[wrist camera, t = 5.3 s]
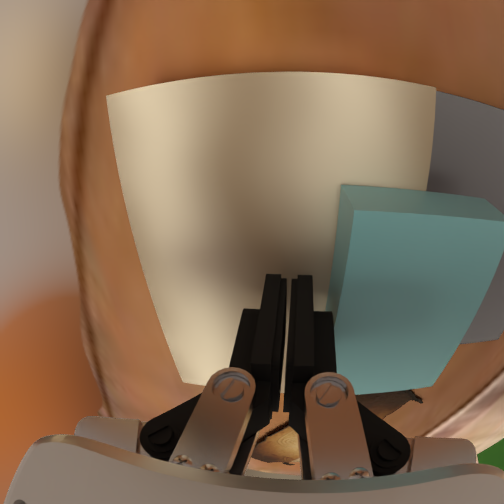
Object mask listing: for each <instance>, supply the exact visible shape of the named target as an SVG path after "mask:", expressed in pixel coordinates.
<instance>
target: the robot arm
mask: <svg viewBox="0 0 504 504" xmlns="http://www.w3.org/2000/svg"><path fill="white" fill-rule="evenodd" d="M286 307H287V278H281V274H266V277H265V283H264V289H263V294H262V300H261V306H260V309H248V308H244V309H243V311H242V315H241V319H240V323H239V327H238V331H237V335H236V340H235V344H234V348H233V352H232V356H231V360H230V364H229V368H224V369H221V370H219V371H217V372H215V373H214V374H213V375H212V376H211V377H210V379H209V380H208V382H207V384H206V386H205V388H204V390H203V392H202V393H201V394H199V395H197V396H195V397H194V398H192V399H190V400H188V401H186V402H184V403H182V404H181V405H179V406H177V407H175V408H173V409H171V410H169V411H167V412H165V413H163V414H161V415H159V416H157V417H155V418H153V419H151V420H150V421H148V422H141V421H140V420H139V419H121V418H108V417H97V416H88V417H86V418H83V419H82V420H81V421H80V422H79V423H78V424H77V427H76V429H75V434H74V435H64V434H63V435H62V434H61V435H50V436H45V437H42V438H40V439H39V440H37V441H36V442H34V443H33V445H32V446H31V447H30V448H29V450H28V451H27V453H26V454H25V456H24V457H23V459H22V461H21V463H20V465H19V467H18V469H17V471H16V473H15V476H14V478H13V480H12V482H11V485H10V487H9V490H8V493H7V496H6V499H5V501H4V504H504V471H503V470H502V469H500V468H498V467H495V466H492V465H486V464H477V463H476V451H475V447H474V445H473V444H472V443H471V442H470V441H469V440H466V439H458V438H431V437H417V436H415V437H414V438H405V437H404V436H403V435H402V434H401V433H400V432H398V431H397V430H396V429H394V428H393V427H391V426H390V425H389V424H387V423H386V422H385V421H383V420H382V419H381V418H379V417H378V416H377V415H375V414H374V413H373V412H371V411H370V410H369V409H368V408H366V407H365V406H364V405H362V404H361V403H360V402H358V401H357V400H356V396H355V392H354V389H353V386H352V384H351V382H350V381H349V380H348V379H347V378H346V377H344V376H342V375H341V374H338V373H337V366H336V350H335V336H334V323H333V313H332V311H314V304H313V276H312V275H298V279H292V281H291V298H290V313H289V328H288V341H287V354H286V368H285V388H284V407H283V412H289V424H288V425H289V426H290V427H291V428H292V429H293V430H294V431H295V432H296V433H298V434H297V438H298V448H299V458H300V469H301V480H287V479H271V478H270V479H269V478H259V477H249V476H244V475H245V472H246V470H247V467H248V464H249V461H250V459H251V456H252V453H253V450H254V447H255V444H256V441H257V438H258V435H259V431H260V430H261V429H262V428H264V427H265V426H267V425H268V424H269V423H270V419H272V411H274V412H278V410H279V401H280V391H281V381H282V371H283V360H284V349H285V337H286Z"/></svg>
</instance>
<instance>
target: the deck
mask: <svg viewBox="0 0 504 504" xmlns="http://www.w3.org/2000/svg"><path fill="white" fill-rule="evenodd" d="M106 98H107V106H108V113H109V120H110V127H111V133H112V140H113V146H114V151H115V157H116V162H117V167H118V172H119V177H120V182H121V187H122V191H123V196H124V200H125V205H126V209H127V213H128V217H129V221H130V225H131V229H132V233H133V237H134V241H135V244H136V248H137V251H138V255H139V259H140V262H141V265H142V269H143V272H144V275H145V279H146V282H147V285H148V288H149V291H150V295H151V298H152V301H153V304H154V307H155V310H156V313H157V316H158V318H159V321H160V324H161V327H162V330H163V332H164V335H165V338H166V341H167V343H168V346H169V349H170V351H171V354H172V356H173V359H174V362H175V364H176V367H177V369H178V371H179V374H180V376H181V379H182V381H183V382H185V383H191V384H198V385H205V386H206V384H207V382H208V380H209V379H210V377H211V376H212V375H213V374H214V373H215V372H217V371H219V370H221V369H224V368H229V364H230V360H231V356H232V352H233V348H234V344H235V340H236V335H237V331H238V327H239V323H240V319H241V315H242V311H243V309H244V308H248V309H260V306H261V300H262V294H263V289H264V283H265V277H266V274H281V278H287V307H286V337H285V349H284V360H283V371H282V381H281V391H280V393H284V388H285V368H286V354H287V341H288V328H289V313H290V298H291V281H292V279H298V275H312V276H313V304H314V311H325V309H326V303H327V297H328V290H329V284H330V277H331V270H332V263H333V255H334V247H335V239H336V231H337V222H338V212H339V202H340V191H341V185H357V186H373V187H386V188H398V189H409V190H420V191H426V189H427V182H428V176H429V169H430V161H431V153H432V144H433V134H434V121H435V104H436V87H431V86H427V85H422V84H417V83H411V82H406V81H400V80H393V79H387V78H379V77H371V76H362V75H352V74H340V73H322V72H257V73H240V74H227V75H217V76H208V77H199V78H192V79H185V80H178V81H172V82H166V83H161V84H156V85H150V86H146V87H141V88H136V89H132V90H127V91H123V92H119V93H115V94H111V95H108V96H106Z"/></svg>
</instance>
